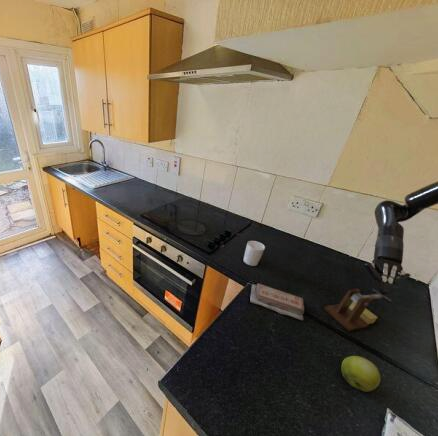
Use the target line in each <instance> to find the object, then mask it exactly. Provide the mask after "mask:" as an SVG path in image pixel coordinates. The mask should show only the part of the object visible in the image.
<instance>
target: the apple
mask: <svg viewBox="0 0 438 436" xmlns="http://www.w3.org/2000/svg"><path fill="white" fill-rule="evenodd" d="M340 368H341V374H342V377H343V379H344V380H345V381H346V382H347V383H348V384H349V386H351V387H352V388H354V389H357V390H359V391H362V392H366V393H367V392H372V391H374V390H375V389H377V388H378V386H379V385H380V383H381V379H382V378H381V373H380V371H379V369H378V367H377V366H376V364H374V363H373V362H372V361H370V360H369V359H367V358H365V357H362V356H359V355H350V356H346V357H345V358H344V359H343V360H342V362H341V367H340Z"/></svg>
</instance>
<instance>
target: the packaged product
mask: <svg viewBox="0 0 438 436" xmlns="http://www.w3.org/2000/svg"><path fill="white" fill-rule="evenodd" d="M249 299H250V302H249V303H252V304H255V305H258V306H262V307H264V308H266V309H268V310H271V311H274V312H277V313H278V314H280V315H285V316H289V317H291V318H294V319H296V320H299V321H304V313H305V305H304V298H303V297H300V296H298V295H294V294H292V293H288V292H286V291H282V290H280V289H276V288H274V287H270V286H267V285H264V284H262V283H256V284H254V283H252V285H251V289H250V298H249Z"/></svg>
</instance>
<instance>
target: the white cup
mask: <svg viewBox="0 0 438 436" xmlns="http://www.w3.org/2000/svg"><path fill="white" fill-rule="evenodd" d="M265 249H266V246H265V245H264V244H263V243H261V242H259V241H257V240H249V241H247V242H246V247H245V250H244V255H243V263H245V264H246V265H248V266H251V267H256V266H258V265H259V262H260V261H261V259H262V256H263V254H264V252H265Z"/></svg>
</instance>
